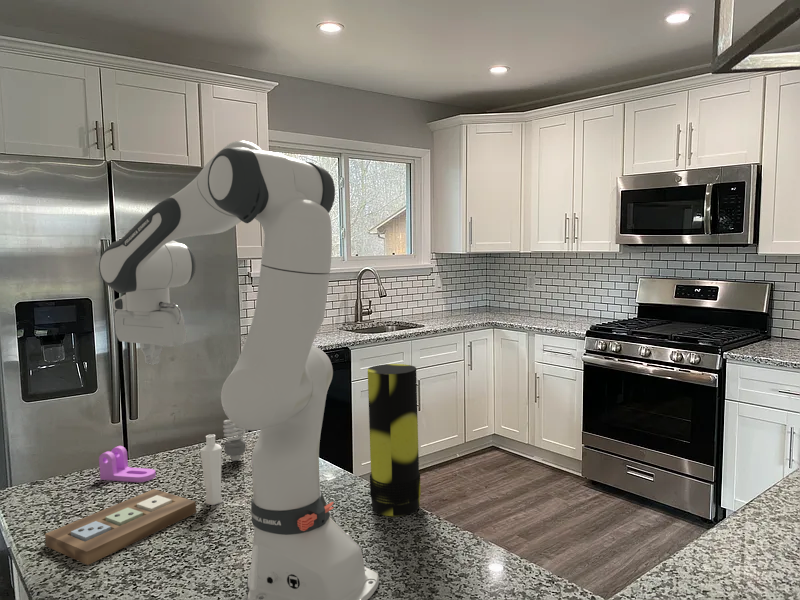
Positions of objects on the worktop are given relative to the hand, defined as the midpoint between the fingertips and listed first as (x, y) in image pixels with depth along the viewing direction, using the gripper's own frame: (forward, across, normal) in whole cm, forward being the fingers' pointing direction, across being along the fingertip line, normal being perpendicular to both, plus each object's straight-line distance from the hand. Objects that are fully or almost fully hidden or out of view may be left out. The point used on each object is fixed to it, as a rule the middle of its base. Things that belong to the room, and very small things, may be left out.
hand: (152, 363), depth 133 cm
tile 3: (+31, -6, +20) cm, 37 cm away
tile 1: (+31, -6, +6) cm, 32 cm away
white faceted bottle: (+31, -12, -5) cm, 34 cm away
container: (+31, -49, -22) cm, 62 cm away
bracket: (+32, +19, -5) cm, 37 cm away
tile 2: (+31, -6, +13) cm, 34 cm away
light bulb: (+31, +3, -25) cm, 40 cm away
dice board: (+31, -6, +13) cm, 34 cm away
